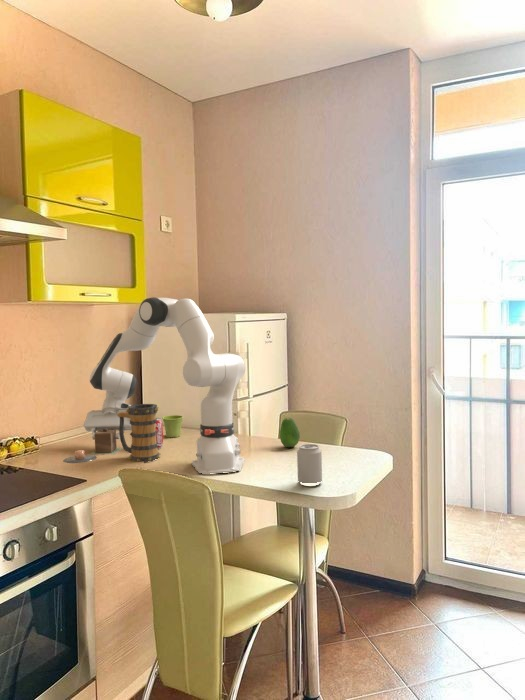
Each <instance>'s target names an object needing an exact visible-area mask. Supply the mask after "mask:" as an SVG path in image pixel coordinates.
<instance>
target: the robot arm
mask: <svg viewBox="0 0 525 700" xmlns="http://www.w3.org/2000/svg"><path fill="white" fill-rule="evenodd" d="M160 327H165V328H173V327H174V328H175V327H176V330H177V331H178V333H179V336H180V338H181V340H182V342H183V344H184V347H185V349H186V350H185V351H186V355H187V357H186V358H187V359H186V361H185V363H184V364H183V366H182V377H183V379H184V381H185V383H186V384H188V385H189V386H191V387H198V388H206V387H209V390H208V392H207V394H206V395H205V397H204V398H203V399H202V400H201V402H200V420H201V421H200V422H201V423H200V428H199V432H200V434H199V435H200V437H198V439H197V440H196V454H195V455H196V459H194V460H192V461H191V465H192V466H193V468H194V467H195V468H194V469H195V470H196V472H197V471H198V472H199V473H202V474H201V475H211V474H210V473H223V472H233V471H238V470H240V469H241V470H242V468H241V467H243V466H242V464H243V465H244V463H243V462H245V458H244V457H242V456H241V449H240V443H239V438H238V437H237V436H236V435H235V434H234V433H235V426H234V422H233V400H234V399H233V398H234V394H235V392H236V391H235V390H236V388H237V385H238V384H239V382H240V381H241V380H242V378H243V377H244V375H245V372H246V364H245V362H244V359H243V358H242V357H241V356H240V355H238V354H233V353H217V354H216V353H214V352H213V350H212V348H211V346H212V345H213V343H214V340H215V334H214V332H213V330H212V328H211V327H210V324H209V322H208V320H207V319H206V316H205V315H204V314H203V312H202V310H201V309H200V307H199V306H198V305H197V304H196V302H195V301H194V300H192V299H190V298H180V299H176V298H169V297H154V296H152V297H148V298H145V299H143V300H142V302H141V303H140V305H139V306H138V309H137V310H136V311H135V313H134V315H133V317H132V319H131V322H130V324H129V326H128V328H126V330H125V331H123V332H120V333H117V334H116V336H115V337H114V338H113V340H112V341H111V343H110V344H109V346H108V348H106V350H105V352H104V353H103V355H102V357H101V358H100V360H99V362H98V363H97V364H96V366H95V367H94V369H93V370H92V371H91V373H90V375H89V383H90V385H91V386H92V387H93V389H96V390H100V391H105V398H104V400H103V404H102V407H101V409H96V410H95V409H94V410H90V411H88V412H87V413H86V418H85V420H84V422H83V428H84V430H86V432H91V433H92V436H91V438H92V440H95V434H94V433H96V432H97V431H99V430H103V429H105V428H107V430H116V436H115V438H116V440H120V436H119V426H120V417H118V416H117V414H119V413H120V412H126V411H127V409H128V407H129V406H132V404H129V403H126V400H127V399H128V400H129V398H131V397H132V396H133V395H134V394H135V390H136V385H137V381H138V380H137V378H136V376H135V375H134V374H132V373H131V372H127V371H124V370H120V369H117V368H114V367H111V364H112V363H113V360H114V359H115V357H116V356H117V355H118V354H120V353H123V352H129V351H130V352H132V351H133V352H137V351H143V350H147V349H148V348H150V347H151V345H153V343H154V341H155V339H156V337H157V335H158V333H159V332H158V331H159V330H160ZM123 430H124V433H125V431H132V427H131V424H130V418H127V417H124V428H123ZM117 431H118V432H117ZM241 470H240V471H241ZM198 472H197V473H198ZM199 473H198V474H199Z"/></svg>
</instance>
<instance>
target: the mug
mask: <svg viewBox="0 0 525 700" xmlns="http://www.w3.org/2000/svg"><path fill="white" fill-rule="evenodd" d="M158 411H159V407H158V405H157V404H156V403H155V404H154V403H138V404H131V406H129V407H128V409H127V411H126V412H120V413H119V414H117V416H118V417H120V426H119V431H118V433H119V436H120V439H119V441H120V443H121V446H122V449H123V450H124V451H125V452H127V453H130V455H129V457H128V458H127V459H128V460H130V461H133V462H144V463H149V462H148V461H151V462H154V461H153V460H155V459H158V458H159V459H160V458H161V453H160V452H159V451H158V450H159V449H157V447H158V445H157V444H158V443H157V442H156V434H157V433H158V432H156V430H155V429H156V421H157V419H156V418H157V413H158ZM124 417H127V418H130V424H131V427H132V430H131V432H130V433H129V435H130V436H131V446H130V447H129V446H128V444H127V441H126V438H125V432H124V430H123V428H124ZM159 459H158V460H159ZM155 461H156V460H155Z"/></svg>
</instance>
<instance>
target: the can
mask: <svg viewBox="0 0 525 700" xmlns="http://www.w3.org/2000/svg"><path fill="white" fill-rule="evenodd" d="M322 455H323V454H322V450H321V449H320V445H318V444H314V443H304V444H300V445H299V446H298V449H297V451H296V457H297V458H296V462H297V463H296V464H297V465H296V466H297V482H298V481H299V482H302V483H317V482H321V481H322V482H323V465H322V464H323V463H322V461H323V459H322ZM299 482H298V483H299Z"/></svg>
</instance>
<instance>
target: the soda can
mask: <svg viewBox="0 0 525 700" xmlns="http://www.w3.org/2000/svg"><path fill="white" fill-rule="evenodd" d="M156 419H157V421H156V429H155V430H156V432H158V433H157V434H156V442H157V443H158V444H157V445H158V447H157V450H160V449H162V447H163V446H164V431H163V430H164V429H163V422H162V421H163V420H161V417H156ZM159 448H160V449H159Z"/></svg>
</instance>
